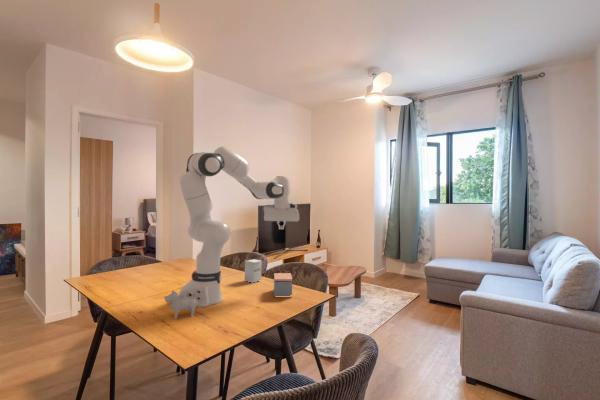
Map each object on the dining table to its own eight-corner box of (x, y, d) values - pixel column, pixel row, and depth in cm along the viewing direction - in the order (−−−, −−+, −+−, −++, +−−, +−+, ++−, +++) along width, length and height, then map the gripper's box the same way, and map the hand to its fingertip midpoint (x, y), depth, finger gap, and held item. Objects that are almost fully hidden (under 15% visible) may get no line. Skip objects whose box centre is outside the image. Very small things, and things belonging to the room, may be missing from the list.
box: (274, 297, 153) (274, 281, 153) (273, 289, 166) (274, 275, 166) (291, 297, 154) (292, 281, 154) (290, 289, 167) (290, 275, 167)
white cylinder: (252, 283, 177) (253, 262, 177) (244, 281, 182) (244, 260, 182) (261, 281, 183) (262, 260, 183) (253, 279, 188) (253, 258, 188)
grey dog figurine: (164, 315, 127) (164, 290, 127) (195, 311, 132) (196, 287, 132) (163, 320, 122) (164, 294, 122) (196, 316, 127) (197, 291, 127)
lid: (274, 281, 153) (274, 279, 153) (274, 275, 166) (274, 273, 166) (292, 281, 154) (292, 279, 154) (290, 275, 167) (290, 273, 167)
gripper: (263, 204, 168) (262, 229, 168) (299, 205, 170) (299, 229, 170) (263, 204, 174) (263, 228, 174) (298, 205, 176) (298, 228, 176)
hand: (281, 229), depth 172 cm, fingers closed
